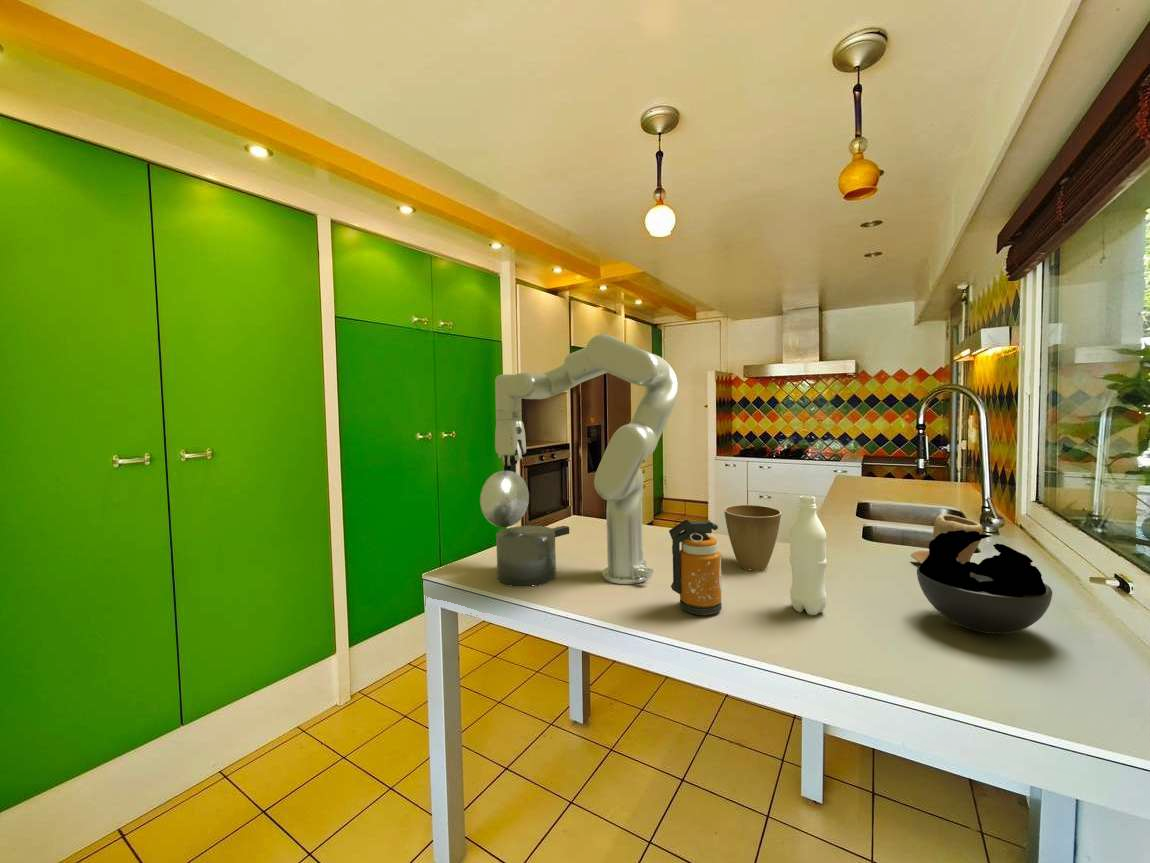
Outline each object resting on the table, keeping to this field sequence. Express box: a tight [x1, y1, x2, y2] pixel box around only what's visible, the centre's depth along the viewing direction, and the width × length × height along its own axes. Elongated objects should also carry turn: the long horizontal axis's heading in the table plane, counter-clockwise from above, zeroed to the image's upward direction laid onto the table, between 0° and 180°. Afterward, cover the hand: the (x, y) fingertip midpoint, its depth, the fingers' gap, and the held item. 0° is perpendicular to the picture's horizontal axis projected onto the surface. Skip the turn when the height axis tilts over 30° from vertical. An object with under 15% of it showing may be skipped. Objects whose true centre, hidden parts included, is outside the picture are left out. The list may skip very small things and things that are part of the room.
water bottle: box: [789, 495, 828, 616], centre depth 102 cm, size 7×7×25 cm
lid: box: [479, 470, 530, 528], centre depth 136 cm, size 16×16×3 cm
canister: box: [668, 519, 723, 616], centre depth 105 cm, size 9×11×20 cm
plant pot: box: [723, 504, 782, 571], centre depth 131 cm, size 15×15×16 cm
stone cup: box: [910, 513, 984, 565], centre depth 123 cm, size 15×12×15 cm
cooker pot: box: [495, 525, 570, 587], centre depth 132 cm, size 18×23×12 cm
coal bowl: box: [916, 530, 1053, 634], centre depth 92 cm, size 20×20×19 cm
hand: (510, 478), depth 140 cm, fingers closed
